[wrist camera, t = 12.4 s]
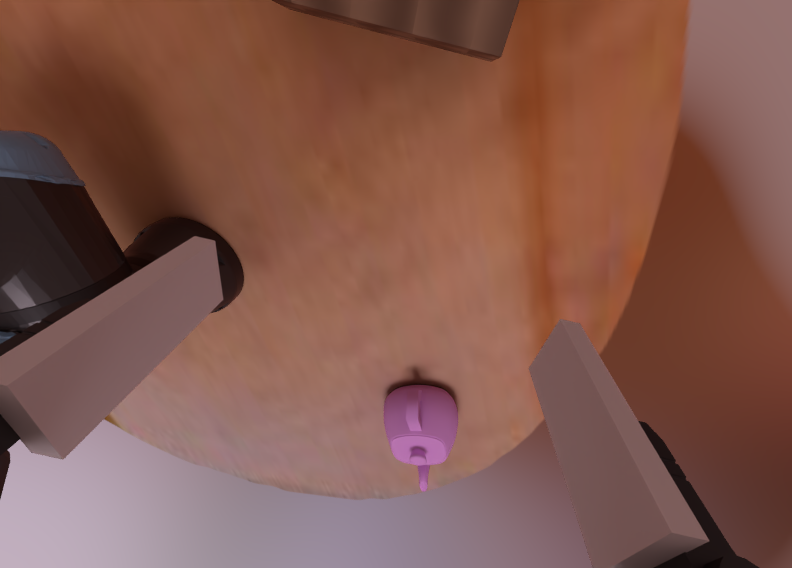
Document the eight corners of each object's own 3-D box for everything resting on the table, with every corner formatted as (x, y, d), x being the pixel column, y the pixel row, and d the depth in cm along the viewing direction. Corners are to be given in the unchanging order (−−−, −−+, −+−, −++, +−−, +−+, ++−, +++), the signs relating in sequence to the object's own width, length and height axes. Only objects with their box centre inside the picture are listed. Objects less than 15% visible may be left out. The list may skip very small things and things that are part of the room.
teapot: (395, 435, 66) (387, 492, 57) (378, 368, 56) (365, 425, 46) (459, 436, 63) (463, 497, 54) (454, 367, 53) (457, 427, 44)
